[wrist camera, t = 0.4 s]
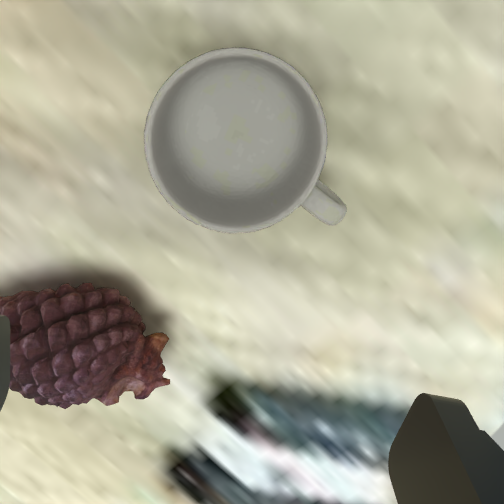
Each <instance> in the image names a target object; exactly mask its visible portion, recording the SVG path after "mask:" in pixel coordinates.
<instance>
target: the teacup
mask: <svg viewBox="0 0 504 504" xmlns="http://www.w3.org/2000/svg"><path fill="white" fill-rule="evenodd" d="M144 144H145V154H146V160H147V163H148V167H149V171H150V174H151V176H152V179H153V181H154V183H155V185H156V187H157V188H158V190H159V192H160V193H161V194H162V196H163V197H164V198H165V200H166V201H167V202H168V203H169V204H170V205H171V207H172V208H173V209H175V210H176V211H177V212H178V213H180V214H181V215H182V216H183V217H185V218H186V219H187V220H190V221H192V222H193V223H195V224H197V225H201V226H202V227H205V228H208V229H210V230H215V231H218V232H224V233H248V232H253V231H258V230H261V229H264V228H268V227H270V226H272V225H274V224H275V223H277V222H279V221H281V220H282V219H284V218H285V217H287V216H288V215H289V214H291V213H292V212H293V211H294V210H295V209H296V208H298V207H299V206H300V205H301V206H302V207H303V208H305V209H306V210H307V211H308V212H310V213H311V214H312V215H313V216H315V217H316V218H317V219H319V220H320V221H322V222H323V223H326V224H328V225H336V224H338V223H339V222H340V221H341V220H342V219H343V217H344V216H345V214H346V212H347V207H346V205H345V204H344V202H343V201H342V200H341V199H340V198H339V197H338V196H337V195H336V194H335V193H334V192H333V191H331V190H330V189H329V188H328V187H327V186H326V185H324V184H323V183H322V182H321V181H320V180H318V178H319V176H320V173H321V171H322V168H323V165H324V162H325V158H326V150H327V126H326V121H325V117H324V113H323V110H322V107H321V105H320V102H319V100H318V98H317V96H316V94H315V93H314V91H313V90H312V88H311V86H310V85H309V84H308V82H307V81H306V80H305V79H304V78H303V77H302V76H301V75H300V73H299V72H297V71H296V70H295V69H294V68H293V67H292V66H290V65H289V64H288V63H286V62H285V61H283V60H281V59H280V58H277V57H275V56H273V55H271V54H269V53H266V52H262V51H259V50H255V49H249V48H223V49H218V50H213V51H210V52H207V53H205V54H202V55H200V56H198V57H196V58H194V59H192V60H190V61H188V62H187V63H186V64H184V65H183V66H181V67H180V68H179V69H177V70H176V71H175V72H174V73H173V74H172V75H171V76H170V77H169V78H168V79H167V80H166V82H165V83H164V84H163V85H162V87H161V88H160V89H159V91H158V92H157V94H156V96H155V98H154V100H153V102H152V105H151V107H150V110H149V112H148V115H147V119H146V124H145V130H144Z"/></svg>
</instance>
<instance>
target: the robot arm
mask: <svg viewBox="0 0 504 504" xmlns="http://www.w3.org/2000/svg"><path fill="white" fill-rule="evenodd" d="M9 385H10V321H9V318H8V317H7V316H4V315H0V411H1V409H2V407H3V404H4V402H5V399H6V396H7V393H8V389H9ZM388 467H389V475H390V479H391V482H392V486H393V489H394V492H395V496H396V499H397V502H398V504H504V451H503V450H502V449H501V448H500V447H499V445H497V443H496V442H495V441H494V440H493V439H492V438H491V437H490V436H489V435H488V434H487V433H486V432H485V431H482V430H479V428H478V426H477V424H476V423H475V421H474V419H473V417H472V415H471V414H470V412H469V410H468V408H467V406H466V405H465V404H464V403H463V402H462V401H461V400H458V399H453V398H448V397H442V396H437V395H431V394H426V393H422V394H420V395H418V396H417V398H416V399H415V401H414V402H413V404H412V406H411V408H410V410H409V412H408V414H407V416H406V418H405V420H404V422H403V424H402V426H401V427H400V429H399V431H398V433H397V435H396V437H395V439H394V441H393V443H392V445H391V448H390V452H389V461H388Z"/></svg>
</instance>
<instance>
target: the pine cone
mask: <svg viewBox="0 0 504 504" xmlns="http://www.w3.org/2000/svg"><path fill="white" fill-rule="evenodd" d="M130 303H131V302H130V301H129V299H128V298H127V297H125V296H120V292H119V290H118V289H115V288H111V289H107V288H99V289H96V290H95V288H94V287H93V285H92V283H83V284H82V285H80V286H79V287H78V288H74V287H72V286H71V285H70V284H63V285H61V286H60V287H59V288H58V289H57V291H56V292H55V291H54V290H52V289H50V288H48V289H45V290H42V291H40V292H35V291H21V292H19V293H17V294H15V295H13V296H7V297H0V315H4V316H7V317H8V318H9V321H10V385H9V388H10V389H11V390H12V391H17V392H20V393H21V394H22V395H23V397H24V398H28V399H32V398H34V399H35V402H36V403H38V404H40V405H46V404H48V405H56V406H57V407H58V406H60V407H62V408H64V409H66V408H68V407H70V406H71V405H72V404H77V405H79V404H81V403H86V404H87V403H88V402H89V401H90V400H91V399H92V398H95V399H98V400H99V401H101V402H102V403H103V404H105V405H106V406H108V405H112V404H115V403H118V402H119V396H121V395H122V393H123V392H124V391H133V392H134V395H135V398H136V399H145V398H147V397H148V396H149V395H150V393H151V392H152V391H153V390H154V389H155V388H157V387H159V386H165V385H169V384H170V379H166V378H163V376H162V375H163V373H164V372H165V371H166V370H165V366H164V365H163V364H162V363H163V360H162V358H161V357H160V355H161V351H162V350H163V348H164V346H165V345H166V343H167V341H168V340H169V338H168V336H167V335H166V334H164V333H154V334H151V335H149V336H146V337H145V336H144V335H143V332H144V331H145V328H146V327H145V325H144V323H143V322H142V317H141V315H140V314H139V313H138V312H137V311H135V309H134V308H133V307H132V306H129V305H130Z"/></svg>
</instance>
